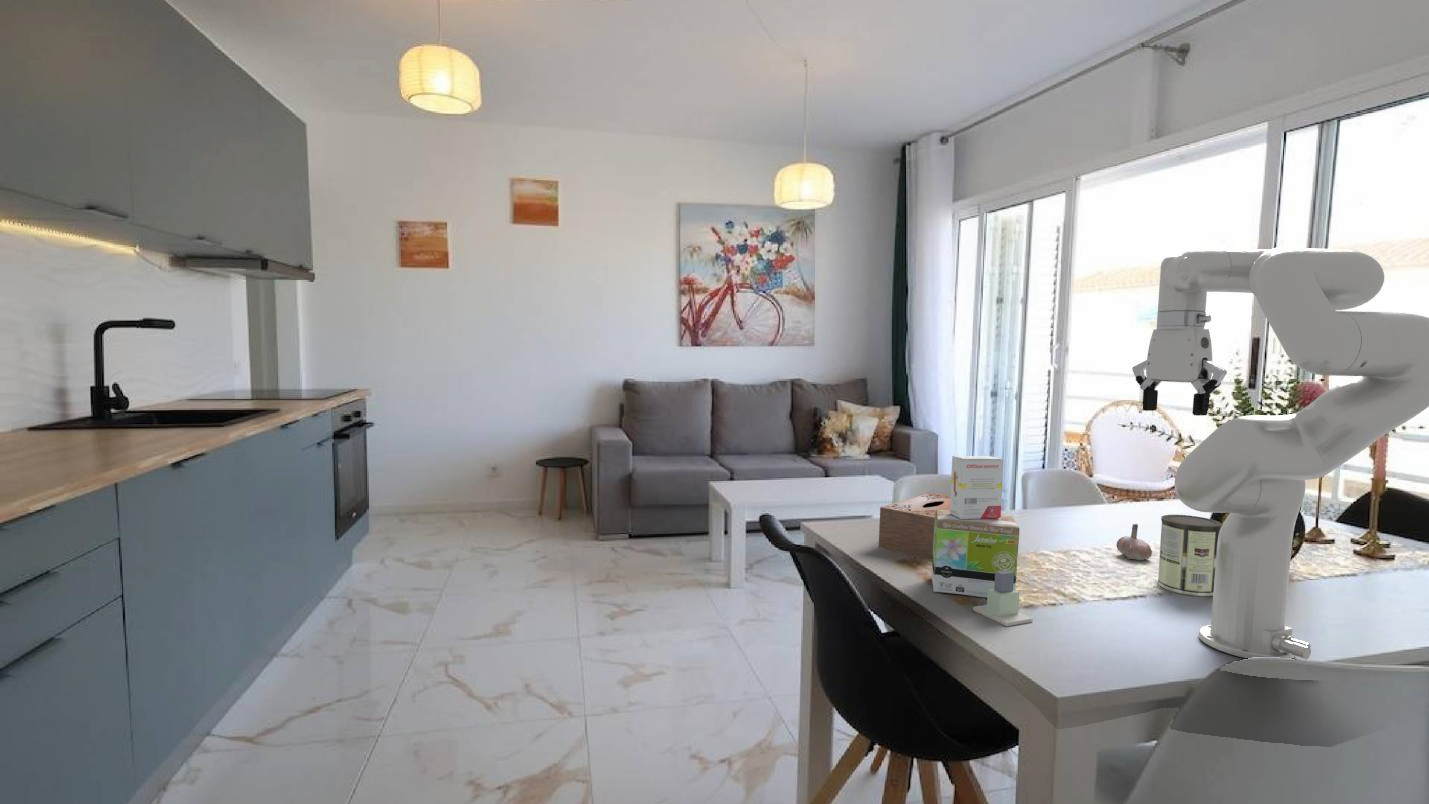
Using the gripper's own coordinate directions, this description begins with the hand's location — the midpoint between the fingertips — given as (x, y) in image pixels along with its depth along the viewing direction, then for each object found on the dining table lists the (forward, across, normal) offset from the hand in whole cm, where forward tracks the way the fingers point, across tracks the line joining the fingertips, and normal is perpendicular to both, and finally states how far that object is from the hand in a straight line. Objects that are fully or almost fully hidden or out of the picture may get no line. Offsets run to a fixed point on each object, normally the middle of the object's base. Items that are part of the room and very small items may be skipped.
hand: (1173, 412), depth 135 cm
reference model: (+36, +4, +36) cm, 51 cm away
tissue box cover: (+37, +47, +16) cm, 62 cm away
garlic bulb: (+37, +22, -22) cm, 48 cm away
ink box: (+22, +17, +31) cm, 42 cm away
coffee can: (+36, +3, -12) cm, 39 cm away
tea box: (+37, +17, +31) cm, 51 cm away
